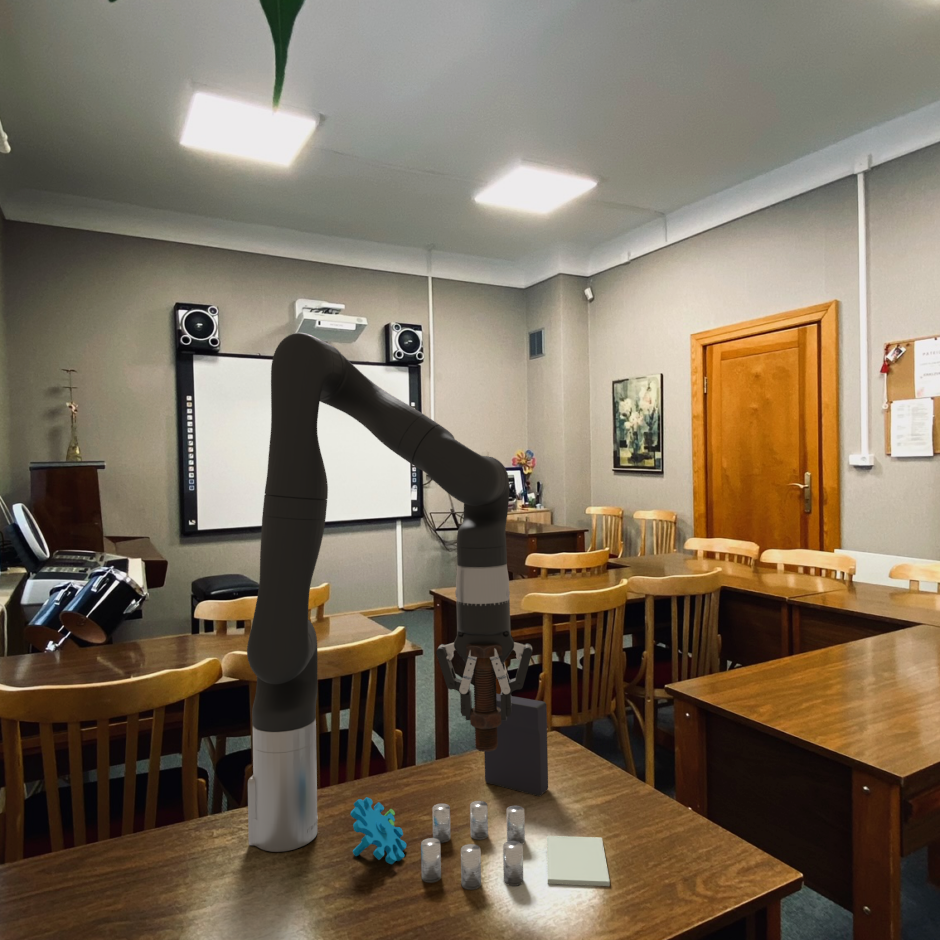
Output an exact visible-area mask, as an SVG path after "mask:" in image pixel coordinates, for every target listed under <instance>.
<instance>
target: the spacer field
mask: <svg viewBox="0 0 940 940" xmlns="http://www.w3.org/2000/svg"><path fill="white" fill-rule="evenodd" d="M488 808H489V807H488V803H487V802H486V801H483V800H474V801H472V802H471V803H470V804H469V819H470V820H469V821H470V823H469V824H470V837H471V838H472V839H473V840H476V841H477V840H478V841H479V840H485V839H487V838H488V837H489V825H488V824H489V822H488V821H489V820H488V819H489V817H488V816H489V813H488V811H489V810H488ZM525 826H526V825H525V808H524V807H523V806H520V805H510V806H508V807H506V841H505V842H504V843H503V844H502V855H503V856H502V858H503V859H502V860H503V866H502V867H503V868H502V869H503V882H504V884H506V885H507V886H511V887H517V886H520V885H522V884H523V883H524V857H523V856H524V851H523V850H524V849H523V848H524V846H523V844H525V842H526V837H525V835H526V834H525V833H526V832H525V831H526V830H525ZM450 840H451V807H450V805H449V804H447V803H437V804H434V805H433V806H432V837H430V838H429V837H428V838H425V839H423V840H422V841H421V842H420V855H421V856H420V857H421V858H420V859H421V861H420V863H421V880H422V881H423V882H425V883H428V884H429V883H430V884H432V883H437V882H438V881H440V880H441V879H442V867H441V866H442V862H441V861H442V858H441V856H442V855H441V852H442V851H441V844H443V843H446V842H449V841H450ZM481 855H482V852H481V847H480V845H478V844H473V843H469V844H464V845H463V846H461V848H460V876H461V877H460V878H461V879H460V880H461V881H460V882H461V886H462V888H463V889H465V890H469V891H470V890H471V891H473V890H477V889H479V888H480V887H481V886H482V865H481V863H482V862H481V861H482V858H481Z"/></svg>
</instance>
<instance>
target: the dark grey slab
mask: <svg viewBox="0 0 940 940" xmlns="http://www.w3.org/2000/svg"><path fill="white" fill-rule="evenodd" d="M496 694H497V696H496V697H497V698H496V699H497V703H496V704H497V707H499V708H500V709H501V693H496ZM547 706H548V705H547V703H546V702H545V701H542V700H536V699H532V698H531V699H530V698H525V697H519V696H515V695H514V696H512V695H511V708H512V709H511V714H510V716H507V719H506V720H501V725H500V726H498V727H497V733H498V734H497V735H498V736H497V737H498V739H497V740H498V747H497V748H496V749H495V750H493V751H489V752H484V781H485V783H487V784H491V785H494V786H497V787H502V788H505V789H510V790H514V791H518V792H522V793H525V794H530V795H533V794H534V796H537V795H538V796H537V797H541V796H542V795H543V794H544V793H545V792H546V791H548V789H549V763H548V762H549V761H548V757H549V756H548V755H549V754H548V715H547V714H548V713H547V712H548V710H547Z"/></svg>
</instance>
